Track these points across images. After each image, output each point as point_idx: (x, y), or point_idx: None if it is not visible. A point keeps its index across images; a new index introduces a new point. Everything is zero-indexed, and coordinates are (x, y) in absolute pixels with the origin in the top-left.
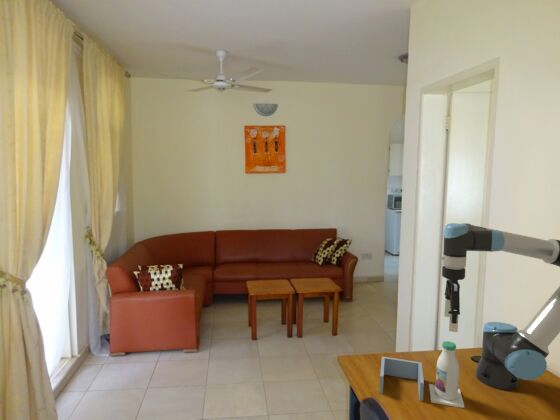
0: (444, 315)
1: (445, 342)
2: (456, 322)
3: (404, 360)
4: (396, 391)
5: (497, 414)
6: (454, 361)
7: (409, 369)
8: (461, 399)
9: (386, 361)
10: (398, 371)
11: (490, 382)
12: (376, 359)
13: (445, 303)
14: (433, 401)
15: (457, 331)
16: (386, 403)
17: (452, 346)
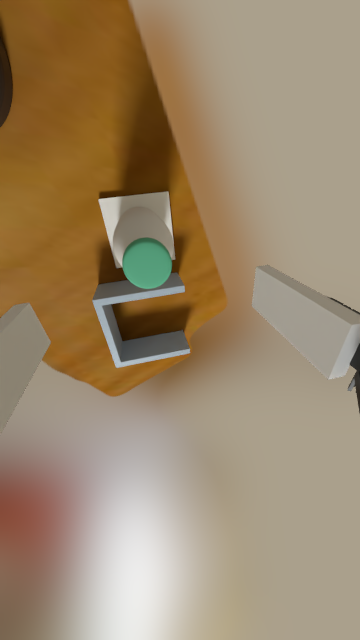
0: (45, 346)
1: (144, 280)
2: (333, 299)
3: (106, 331)
4: (166, 314)
5: (158, 101)
6: (162, 232)
7: (109, 313)
8: (144, 196)
9: (120, 355)
10: (115, 326)
11: (5, 88)
12: (76, 363)
13: (6, 421)
14: (174, 255)
15: (270, 266)
16: (204, 320)
17: (166, 253)
